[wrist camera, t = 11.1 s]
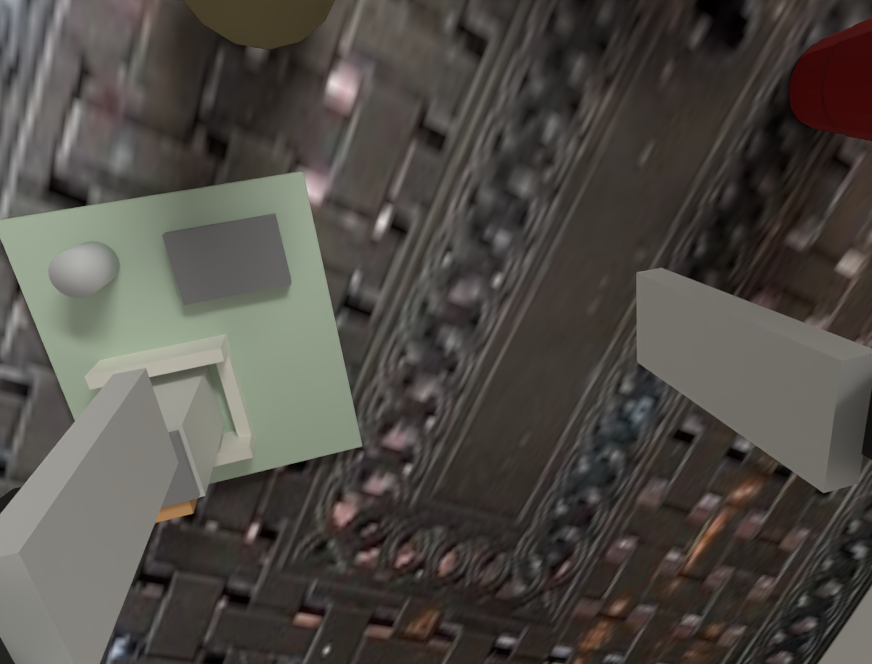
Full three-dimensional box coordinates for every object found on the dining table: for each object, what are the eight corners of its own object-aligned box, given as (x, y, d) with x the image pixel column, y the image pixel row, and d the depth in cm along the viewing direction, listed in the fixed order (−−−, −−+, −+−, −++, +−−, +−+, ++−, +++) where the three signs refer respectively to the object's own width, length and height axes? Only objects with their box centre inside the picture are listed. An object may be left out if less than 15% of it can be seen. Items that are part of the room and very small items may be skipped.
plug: (137, 379, 34) (88, 449, 26) (206, 365, 34) (180, 428, 26) (162, 449, 35) (123, 535, 27) (228, 434, 36) (208, 513, 28)
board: (4, 219, 31) (-38, 229, 27) (302, 170, 33) (303, 173, 29) (116, 497, 37) (94, 538, 33) (360, 437, 39) (367, 469, 35)
